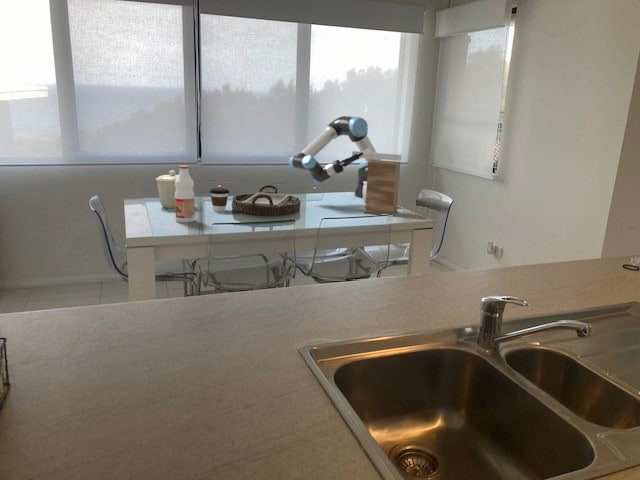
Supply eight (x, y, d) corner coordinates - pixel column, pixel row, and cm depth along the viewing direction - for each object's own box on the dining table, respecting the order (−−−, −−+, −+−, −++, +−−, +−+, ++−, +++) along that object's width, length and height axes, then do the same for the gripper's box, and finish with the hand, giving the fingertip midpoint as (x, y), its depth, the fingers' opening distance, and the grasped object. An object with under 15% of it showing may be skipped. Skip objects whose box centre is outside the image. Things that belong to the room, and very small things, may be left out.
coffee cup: (205, 210, 297) (205, 189, 294) (217, 208, 306) (217, 187, 303) (221, 213, 292) (221, 191, 289) (233, 210, 302) (233, 189, 299)
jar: (376, 207, 326) (377, 183, 323) (359, 206, 330) (361, 182, 326) (379, 205, 336) (381, 181, 332) (364, 203, 339) (365, 180, 336)
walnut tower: (369, 209, 319) (373, 159, 312) (397, 212, 314) (401, 161, 307) (364, 213, 308) (367, 161, 300) (392, 216, 302) (396, 163, 295)
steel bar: (353, 156, 311) (354, 151, 310) (401, 160, 302) (401, 154, 301) (351, 156, 307) (352, 151, 306) (399, 160, 298) (400, 155, 297)
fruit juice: (193, 223, 266) (192, 167, 259) (174, 222, 265) (172, 166, 258) (195, 219, 275) (194, 165, 268) (177, 218, 274) (175, 164, 268)
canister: (194, 205, 311) (193, 169, 306) (183, 211, 294) (182, 173, 289) (164, 203, 313) (162, 167, 308) (151, 209, 296) (150, 171, 290)
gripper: (342, 172, 322) (375, 155, 313) (333, 175, 307) (368, 157, 297) (336, 161, 322) (370, 143, 312) (327, 163, 306) (362, 145, 297)
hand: (369, 150), depth 305 cm, fingers closed on steel bar, 4 cm apart
